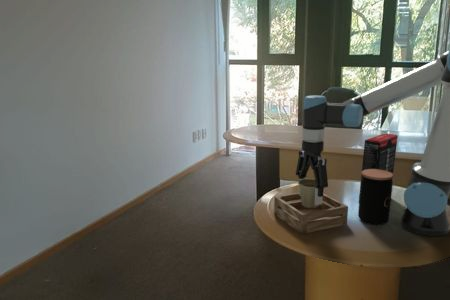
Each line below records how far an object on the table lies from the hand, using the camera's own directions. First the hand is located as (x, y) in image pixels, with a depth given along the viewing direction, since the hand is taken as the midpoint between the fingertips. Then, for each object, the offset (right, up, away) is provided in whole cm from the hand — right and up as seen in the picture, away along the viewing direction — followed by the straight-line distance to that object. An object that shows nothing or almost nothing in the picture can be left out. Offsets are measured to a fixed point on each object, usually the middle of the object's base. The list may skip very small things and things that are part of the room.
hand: (310, 199), depth 145 cm
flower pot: (0, -2, +1) cm, 2 cm away
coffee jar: (+23, -8, +1) cm, 25 cm away
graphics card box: (+31, -3, +18) cm, 36 cm away
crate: (0, -7, +2) cm, 8 cm away
